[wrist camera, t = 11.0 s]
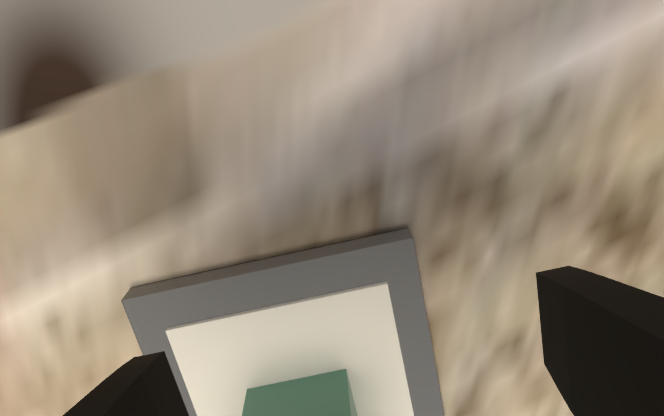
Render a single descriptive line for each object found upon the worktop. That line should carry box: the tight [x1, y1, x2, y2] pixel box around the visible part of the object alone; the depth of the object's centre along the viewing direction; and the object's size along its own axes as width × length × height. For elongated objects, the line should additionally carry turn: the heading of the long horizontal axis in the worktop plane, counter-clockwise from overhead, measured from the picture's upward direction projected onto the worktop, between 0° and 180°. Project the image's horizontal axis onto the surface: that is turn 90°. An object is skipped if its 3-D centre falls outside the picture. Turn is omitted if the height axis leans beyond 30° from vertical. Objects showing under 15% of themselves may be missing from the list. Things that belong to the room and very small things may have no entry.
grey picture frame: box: [121, 228, 444, 416], centre depth 20 cm, size 11×13×1 cm
